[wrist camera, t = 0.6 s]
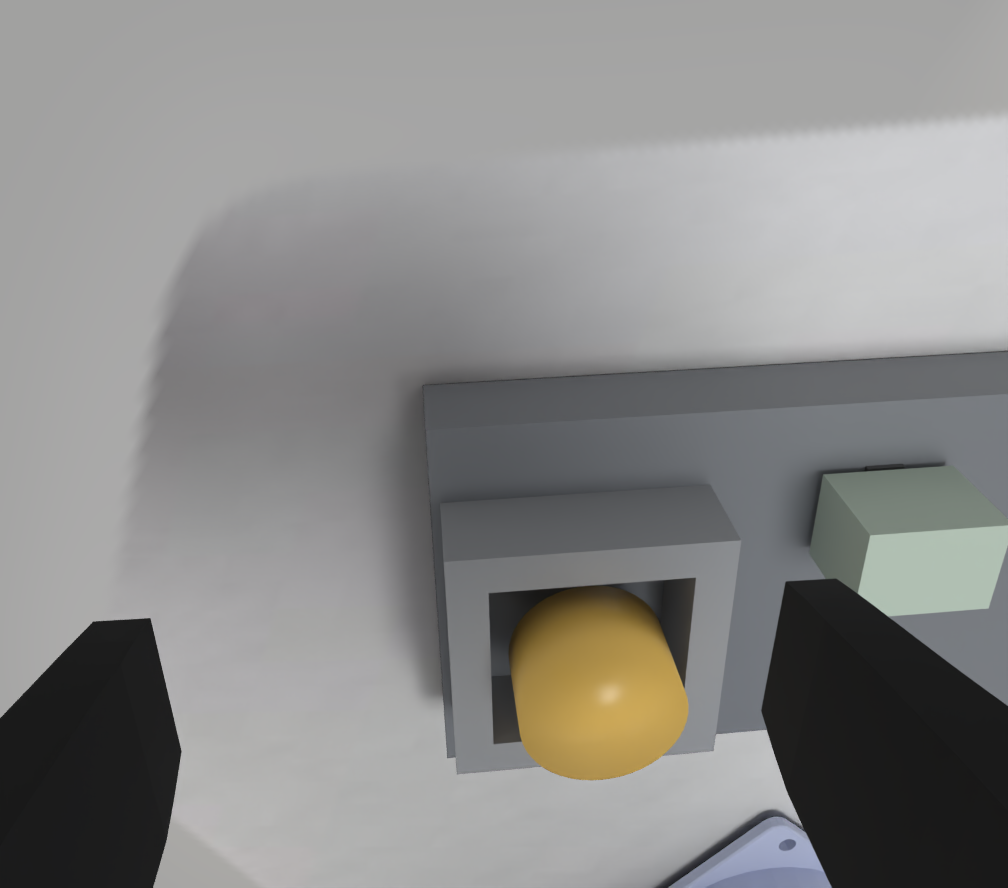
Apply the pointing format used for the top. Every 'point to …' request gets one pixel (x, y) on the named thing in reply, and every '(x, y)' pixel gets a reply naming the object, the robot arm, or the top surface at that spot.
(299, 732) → the top surface
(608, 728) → the amber button
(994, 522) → the sage green cuboid
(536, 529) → the control panel
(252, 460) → the top surface
